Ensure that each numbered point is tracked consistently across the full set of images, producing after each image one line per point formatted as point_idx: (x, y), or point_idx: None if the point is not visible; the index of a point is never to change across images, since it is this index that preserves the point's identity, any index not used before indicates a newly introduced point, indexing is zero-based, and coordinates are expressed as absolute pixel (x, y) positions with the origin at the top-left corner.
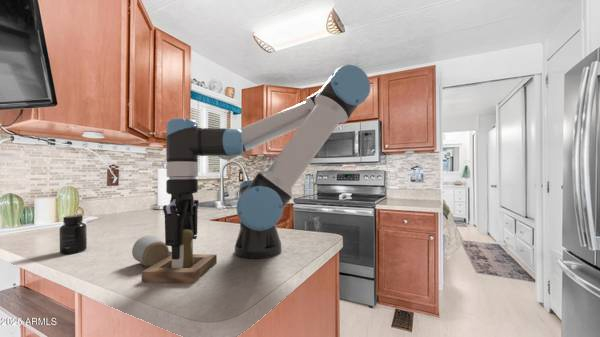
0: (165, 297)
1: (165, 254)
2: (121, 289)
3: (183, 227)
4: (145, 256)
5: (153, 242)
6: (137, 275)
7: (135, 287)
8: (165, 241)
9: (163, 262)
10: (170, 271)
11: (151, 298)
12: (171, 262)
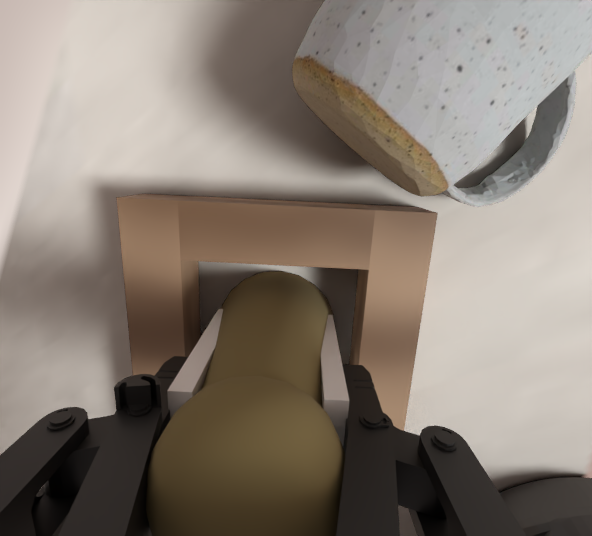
0: (34, 373)
1: (400, 182)
2: (60, 145)
3: (337, 524)
4: (296, 86)
5: (377, 94)
6: (225, 107)
7: (90, 200)
8: (26, 434)
9: (268, 240)
10: (136, 351)
11: (17, 329)
12: (234, 310)
